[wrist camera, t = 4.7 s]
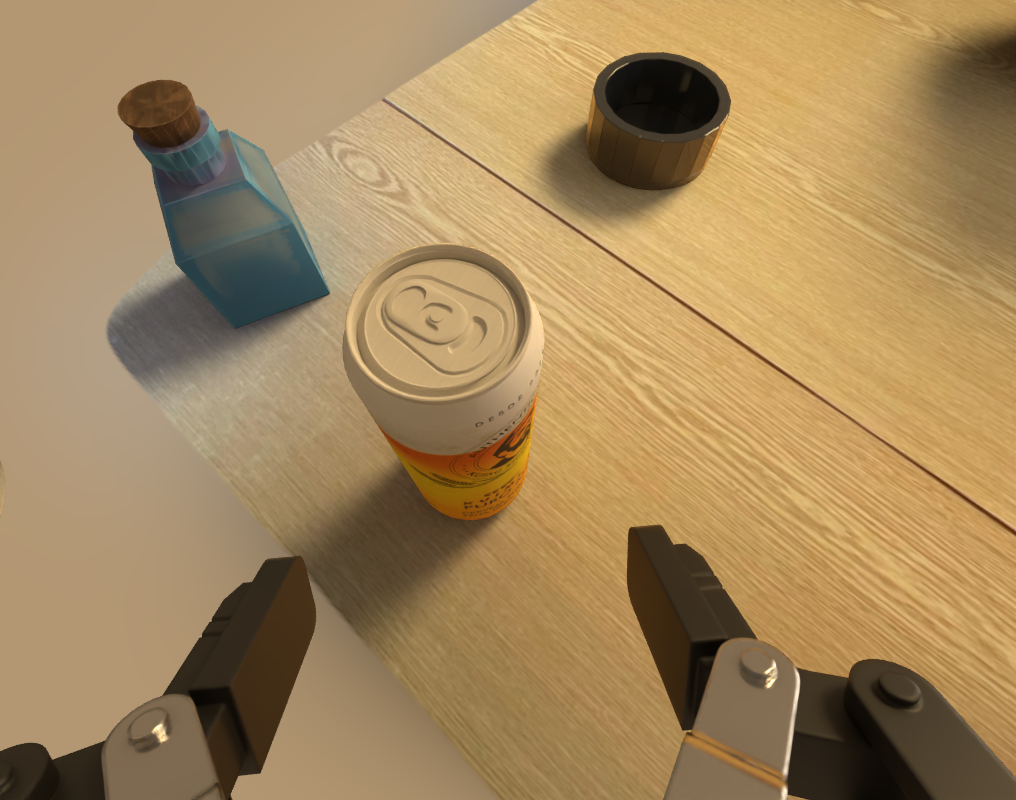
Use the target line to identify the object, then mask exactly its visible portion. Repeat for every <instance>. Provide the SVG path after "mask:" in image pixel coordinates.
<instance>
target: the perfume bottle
mask: <svg viewBox="0 0 1016 800" xmlns="http://www.w3.org/2000/svg"><path fill="white" fill-rule="evenodd" d="M118 115H119V117H120V119H121V120H122V121H123V122H124V123H125V124H126V125H128V126H129V127H130V128H131V129H132V130H133V139H134V141H135V143H136V145H137V146H138V148H139V149H140V150H141V152H142V153H143V154H144V155H145V157H146V158H147V159H148V161H149V162H150V163H151V165H152V172H153V178H154V184H155V188H156V191H157V195H158V199H159V203H160V206H161V210H162V214H163V218H164V222H165V225H166V229H167V232H168V237H169V240H170V244H171V248H172V252H173V255H174V259H175V263H176V265H177V266H178V267H179V268H180V269H181V270H182V271H183V272H184V273H185V274H186V275H187V277H188V278H189V279H190V280H191V281H192V282H193V283H194V284H195V285H196V286H197V287H198V289H199V290H200V291H201V292H202V293H203V294H204V295H205V296H206V297H207V298H208V300H209V301H210V302H211V303H212V304H213V305H214V306H215V307H216V308H217V309H218V310H219V312H220V313H221V314H222V315H223V316H224V317H225V318H226V319H227V320H228V321H229V323H230V324H231V325H232V326H233V327H234V328H238V327H240V326H243V325H246V324H249V323H251V322H254V321H257V320H259V319H262V318H265V317H267V316H270V315H273V314H276V313H278V312H281V311H284V310H286V309H289V308H292V307H294V306H297V305H300V304H303V303H305V302H308V301H311V300H313V299H316V298H319V297H321V296H324V295H327V294H330V292H329V289H328V287H327V285H326V282H325V280H324V277H323V275H322V272H321V270H320V268H319V265H318V263H317V260H316V258H315V255H314V253H313V250H312V248H311V246H310V243H309V241H308V238H307V236H306V233H305V231H304V229H303V226H302V224H301V222H300V220H299V218H298V216H297V215H296V213H295V211H294V209H293V207H292V205H291V203H290V201H289V199H288V197H287V195H286V193H285V191H284V189H283V187H282V185H281V183H280V181H279V179H278V177H277V175H276V173H275V171H274V169H273V167H272V166H271V164H270V162H269V160H268V158H267V156H266V154H265V152H264V150H262V149H261V148H259V147H257V146H255V145H254V144H252V143H250V142H249V141H247V140H245V139H243V138H242V137H240V136H238V135H236V134H235V133H233V132H231V131H230V130H228V129H227V130H223V131H220V132H217V130H216V128H215V127H214V125H213V123H212V121H211V120H210V118H209V116H208V115H207V114H206V112H205V111H204V110H203V109H201V108H200V107H198V106H196V105H195V103H194V100H193V97H192V94H191V92H190V90H189V89H188V87H187V86H185V85H183V84H182V83H180V82H176V81H172V80H157V81H151V82H147V83H144V84H142V85H139V86H137V87H135V88H134V89H132V90H130V91H129V92H128V93H127V94H126V95H125V96H124V97H123V98H122V99H121V101H120V103H119V105H118Z"/></svg>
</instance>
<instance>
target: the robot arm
mask: <svg viewBox="0 0 1016 800" xmlns="http://www.w3.org/2000/svg"><path fill="white" fill-rule="evenodd" d="M627 586H628V592H629V597H630V600H631V604H632V606H633V609H634V611H635V614H636V616H637V619H638V621H639V624H640V626H641V629H642V631H643V634H644V636H645V639H646V641H647V644H648V646H649V649H650V651H651V653H652V656H653V658H654V661H655V663H656V666H657V668H658V671H659V673H660V676H661V678H662V681H663V683H664V686H665V688H666V691H667V693H668V696H669V698H670V701H671V703H672V706H673V708H674V711H675V713H676V716H677V718H678V721H679V723H680V726H681V728H682V731H683V730H692V731H691V733H689V732H687V733H686V735H685V737H684V739H683V742H682V745H681V748H680V751H679V754H678V757H677V760H676V763H675V766H674V769H673V772H672V775H671V778H670V781H669V784H668V787H667V790H666V793H665V796H664V799H663V800H787V794H788V795H792V796H796V797H800V798H804V799H809V800H1016V777H1015V776H1014V775H1013V774H1012V773H1011V772H1010V770H1009V769H1008V768H1007V767H1006V766H1005V765H1004V764H1003V763H1002V762H1001V760H1000V759H999V758H998V757H997V756H996V755H995V754H994V753H993V751H992V750H991V749H990V748H989V747H988V746H987V745H986V744H985V743H984V741H983V740H982V739H981V738H980V737H979V736H978V735H977V734H976V733H975V731H974V730H973V729H972V728H971V727H970V726H969V725H968V724H967V722H966V721H965V720H964V719H963V718H962V717H961V716H960V715H959V714H958V712H957V711H956V710H955V709H954V708H953V707H952V706H951V705H950V703H949V702H948V701H947V700H946V699H945V698H944V697H943V696H942V695H941V693H940V692H939V691H938V690H937V689H936V688H935V687H934V686H933V685H932V684H930V683H929V682H928V681H927V680H926V679H924V678H923V677H921V676H920V675H918V674H917V673H915V672H913V671H911V670H910V669H908V668H905V667H903V666H901V665H898V664H896V663H893V662H889V661H885V660H879V659H867V660H862V661H859V662H857V663H856V664H854V665H853V667H852V668H851V670H850V673H849V677H848V678H846V677H840V676H834V675H829V674H823V673H818V672H812V671H807V670H803V669H800V668H797V667H795V665H794V664H793V662H792V661H791V660H790V659H789V658H788V657H787V656H786V655H785V654H784V653H783V652H781V651H780V650H778V649H777V648H775V647H774V646H772V645H770V644H768V643H766V642H763V641H760V640H758V639H757V637H756V636H755V634H754V633H753V631H752V630H751V628H750V627H749V625H748V624H747V622H746V621H745V619H744V618H743V616H742V615H741V613H740V612H739V610H738V609H737V607H736V606H735V604H734V603H733V601H732V600H731V598H730V597H729V595H728V594H727V592H726V591H725V589H723V588H722V585H721V583H720V582H719V580H718V579H717V577H716V576H714V574H713V571H712V570H711V568H710V567H709V565H708V564H707V562H706V561H705V559H704V558H703V556H701V555H700V554H699V553H697V552H696V551H695V550H693V549H692V548H691V547H689V546H688V545H687V544H675V545H673V543H672V542H671V540H670V538H669V537H668V535H667V533H666V532H665V530H664V528H663V527H662V526H661V525H651V526H639V527H630V529H629V533H628V558H627ZM315 622H316V608H315V603H314V599H313V595H312V591H311V587H310V583H309V579H308V575H307V571H306V567H305V563H304V560H303V559H302V557H301V556H294V557H283V558H272V559H267V560H266V561H265V562H264V563H263V565H262V566H261V568H260V570H259V571H258V573H257V575H256V577H255V578H254V580H253V581H252V582H249V583H243V584H241V585H240V586H239V587H238V588H237V589H236V590H235V591H233V592H232V593H231V594H230V595H229V596H228V597H226V598H225V599H224V600H223V602H222V603H221V605H220V607H219V608H218V610H217V611H216V613H215V615H214V616H213V618H212V622H209V624H208V625H207V627H206V629H205V630H204V632H203V633H202V638H199V640H198V641H197V643H196V644H195V646H194V647H193V649H192V650H191V652H190V653H189V655H188V656H187V658H186V660H185V661H184V663H183V664H182V666H181V667H180V669H179V671H178V672H177V674H176V675H175V677H174V679H173V680H172V681H171V683H170V685H169V686H168V688H167V689H166V691H165V693H164V694H163V695H162V696H160V697H158V698H155V699H152V700H150V701H148V702H146V703H144V704H143V705H141V706H139V707H137V708H136V709H135V710H133V711H132V712H130V713H129V714H128V715H127V716H126V717H124V718H123V719H122V720H121V721H120V722H119V723H118V724H117V725H116V726H115V728H114V729H113V730H112V731H111V733H110V734H109V736H108V737H107V739H106V740H105V741H103V742H100V743H98V744H95V745H92V746H89V747H87V748H84V749H81V750H78V751H76V752H73V753H70V754H68V755H65V756H62V757H59V758H56V759H54V760H52V759H51V757H50V755H49V753H48V751H47V750H46V748H45V747H44V746H43V745H41V744H37V743H24V744H20V745H16V746H13V747H10V748H7V749H5V750H2V751H0V800H232V798H231V795H230V794H231V792H232V790H233V787H234V785H235V782H236V780H237V778H238V776H241V775H250V774H259V773H261V770H262V768H263V765H264V762H265V760H266V757H267V754H268V752H269V749H270V746H271V744H272V741H273V739H274V736H275V733H276V731H277V728H278V725H279V723H280V720H281V718H282V715H283V712H284V710H285V707H286V704H287V702H288V699H289V696H290V694H291V691H292V689H293V686H294V683H295V680H296V678H297V675H298V673H299V670H300V667H301V665H302V662H303V659H304V656H305V654H306V652H307V649H308V646H309V644H310V641H311V638H312V636H313V633H314V629H315Z"/></svg>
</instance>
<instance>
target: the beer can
mask: <svg viewBox="0 0 1016 800" xmlns="http://www.w3.org/2000/svg"><path fill="white" fill-rule="evenodd" d="M342 348H343V360H344V365H345V369H346V372H347V375H348V378H349V380H350V382H351V384H352V386H353V388H354V389H355V391H356V392H357V394H358V395H359V397H360V399H361V400H362V402H363V403H364V405H365V406H366V408H367V409H368V411H369V413H370V414H371V416H372V417H373V419H374V420H375V422H376V423H377V425H378V427H379V428H380V430H381V431H382V433H383V434H384V436H385V437H386V439H387V441H388V442H389V444H390V445H391V447H392V448H393V450H394V451H395V453H396V455H397V456H398V458H399V459H400V461H401V462H402V464H403V465H404V467H405V469H406V470H407V472H408V473H409V475H410V476H411V478H412V479H413V481H414V483H415V484H416V486H417V487H418V489H419V490H420V492H421V493H422V495H423V496H424V498H425V499H426V500H427V502H428V503H429V504H430V505H431V506H433V507H434V508H435V509H436V510H438V511H439V512H441V513H443V514H445V515H447V516H450V517H452V518H456V519H462V520H477V519H482V518H486V517H489V516H492V515H494V514H496V513H498V512H500V511H501V510H503V509H504V508H506V507H507V506H508V505H509V504H510V503H511V502H512V501H513V500H514V499H515V498H516V496H517V495H518V493H519V492H520V490H521V488H522V486H523V483H524V481H525V477H526V472H527V465H528V458H529V451H530V444H531V437H532V430H533V422H534V415H535V408H536V401H537V394H538V386H539V379H540V372H541V365H542V358H543V350H544V330H543V324H542V320H541V317H540V314H539V312H538V309H537V307H536V305H535V303H534V302H533V300H532V298H531V297H530V296H529V294H528V293H527V290H526V288H525V287H524V285H523V283H522V281H521V280H520V279H519V277H518V276H517V274H516V273H515V272H514V271H513V270H512V269H511V268H510V267H509V266H507V265H506V264H505V263H504V262H503V261H501V260H500V259H498V258H497V257H495V256H493V255H491V254H489V253H487V252H485V251H483V250H480V249H477V248H474V247H470V246H466V245H461V244H452V243H436V244H427V245H421V246H417V247H413V248H410V249H407V250H404V251H402V252H399V253H397V254H395V255H393V256H391V257H389V258H388V259H386V260H385V261H383V262H381V263H380V264H379V265H378V266H376V267H375V268H374V269H373V270H372V271H371V272H369V273H368V274H367V275H366V277H365V278H364V279H363V280H362V281H361V283H360V284H359V286H358V287H357V289H356V290H355V292H354V294H353V296H352V298H351V300H350V303H349V306H348V309H347V314H346V322H345V332H344V336H343V347H342Z"/></svg>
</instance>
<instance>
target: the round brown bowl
mask: <svg viewBox="0 0 1016 800" xmlns="http://www.w3.org/2000/svg"><path fill="white" fill-rule="evenodd" d="M730 105H731V99H730V96H729V93H728V90H727V87H726V85H725V84H724V83H723V81H722V80H721V79H720V78H719V77H718V75H717V74H716V73H715V72H713V71H712V70H710V69H709V68H707V67H706V66H704V65H703V64H701V63H699V62H697V61H694V60H692V59H689V58H687V57H684V56H681V55H675V54H669V53H664V52H662V53H660V52H657V53H637V54H633V55H629V56H624V57H622V58H620V59H618V60H616V61H615V62H613V63H611V64H609V65H607V67H606V68H605V69H604V70H603V71H602V72H601V73H600V74H599V75H598V77H597V79H596V82H595V86H594V89H593V94H592V100H591V106H590V113H589V119H588V125H587V131H586V133H587V135H586V147H587V151H588V154H589V156H590V158H591V160H592V161H593V163H594V164H595V165H596V166H597V167H598V169H600V170H601V171H602V172H603V173H604V174H606V175H607V176H608V177H610V178H612V179H614V180H615V181H617V182H620V183H622V184H624V185H627V186H631V187H635V188H640V189H648V190H662V189H669V188H674V187H678V186H681V185H683V184H685V183H688V182H689V181H691V180H693V179H694V178H695V177H697V176H698V175H699V174H700V173H701V172H702V171H703V169H704V168H705V166H706V164H707V162H708V160H709V158H710V157H711V155H712V152H713V150H714V148H715V146H716V143H717V141H718V139H719V136H720V134H721V132H722V130H723V127H724V125H725V123H726V120H727V118H728V116H729V112H730Z"/></svg>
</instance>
